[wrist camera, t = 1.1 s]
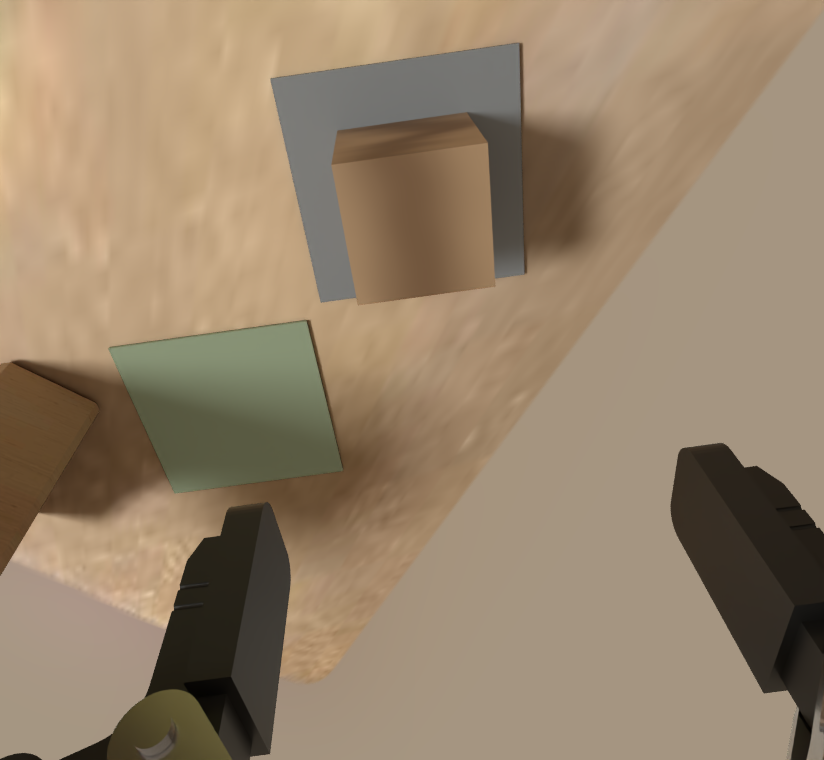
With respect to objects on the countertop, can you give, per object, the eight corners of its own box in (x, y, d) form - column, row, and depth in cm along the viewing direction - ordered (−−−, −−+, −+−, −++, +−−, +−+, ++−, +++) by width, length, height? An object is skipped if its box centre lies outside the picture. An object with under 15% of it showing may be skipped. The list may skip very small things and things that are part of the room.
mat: (306, 320, 34) (306, 321, 34) (343, 469, 40) (343, 471, 40) (109, 347, 34) (108, 348, 34) (175, 491, 40) (174, 493, 40)
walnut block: (466, 111, 29) (487, 142, 24) (474, 236, 32) (495, 286, 27) (337, 130, 29) (331, 165, 24) (359, 252, 32) (358, 305, 27)
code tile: (518, 42, 27) (519, 43, 27) (523, 273, 33) (524, 274, 33) (270, 78, 28) (270, 79, 27) (321, 301, 34) (320, 302, 33)
